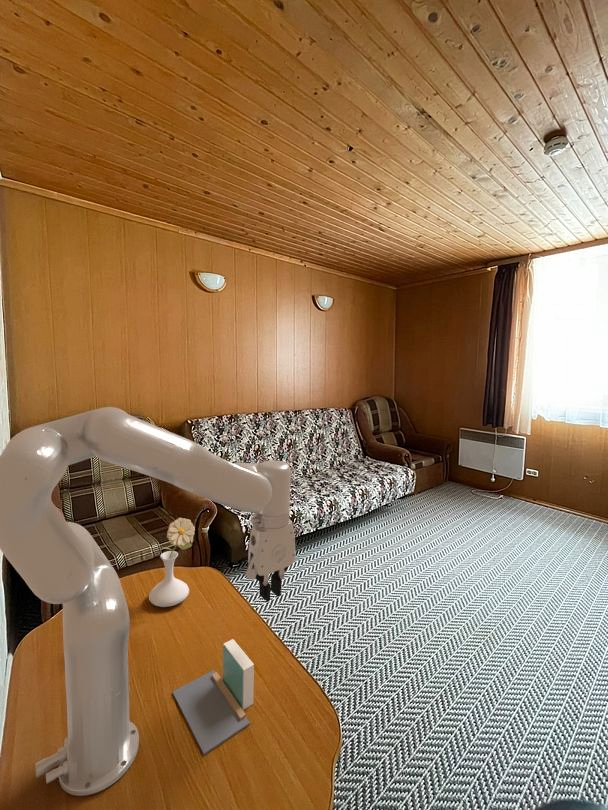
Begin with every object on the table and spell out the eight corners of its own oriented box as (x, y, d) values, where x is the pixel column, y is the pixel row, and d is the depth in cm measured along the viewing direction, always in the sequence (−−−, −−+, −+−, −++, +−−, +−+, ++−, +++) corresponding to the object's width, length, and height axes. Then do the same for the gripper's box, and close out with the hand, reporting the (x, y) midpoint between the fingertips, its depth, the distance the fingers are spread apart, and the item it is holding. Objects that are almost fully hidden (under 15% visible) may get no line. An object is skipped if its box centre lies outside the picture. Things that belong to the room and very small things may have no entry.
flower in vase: (145, 613, 104) (144, 528, 101) (151, 589, 115) (151, 512, 112) (194, 607, 107) (194, 525, 105) (195, 584, 118) (195, 509, 115)
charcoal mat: (204, 755, 67) (204, 750, 67) (172, 693, 79) (172, 689, 79) (249, 724, 73) (250, 719, 73) (214, 671, 85) (214, 667, 85)
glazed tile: (242, 710, 76) (242, 670, 75) (222, 681, 83) (222, 644, 82) (253, 703, 78) (254, 664, 77) (232, 675, 84) (233, 638, 84)
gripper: (249, 533, 73) (247, 619, 75) (311, 514, 83) (308, 591, 85) (231, 520, 79) (230, 600, 81) (291, 504, 89) (288, 576, 91)
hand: (270, 595), depth 83 cm, fingers closed
